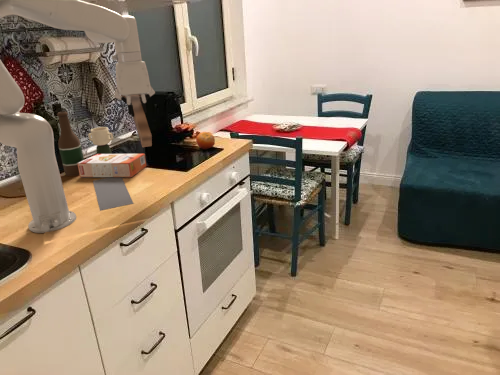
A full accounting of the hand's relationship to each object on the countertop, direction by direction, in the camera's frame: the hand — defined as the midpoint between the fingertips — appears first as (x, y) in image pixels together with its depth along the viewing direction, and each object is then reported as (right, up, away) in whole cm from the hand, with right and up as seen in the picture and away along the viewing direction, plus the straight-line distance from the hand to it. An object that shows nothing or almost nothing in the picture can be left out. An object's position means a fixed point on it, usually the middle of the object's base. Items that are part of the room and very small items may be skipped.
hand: (138, 115), depth 138 cm
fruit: (+18, -7, +45) cm, 49 cm away
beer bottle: (-30, -19, +23) cm, 42 cm away
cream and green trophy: (-25, -12, +40) cm, 48 cm away
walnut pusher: (0, -1, +1) cm, 2 cm away
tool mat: (-9, -26, +1) cm, 27 cm away
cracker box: (-4, -15, +18) cm, 24 cm away
